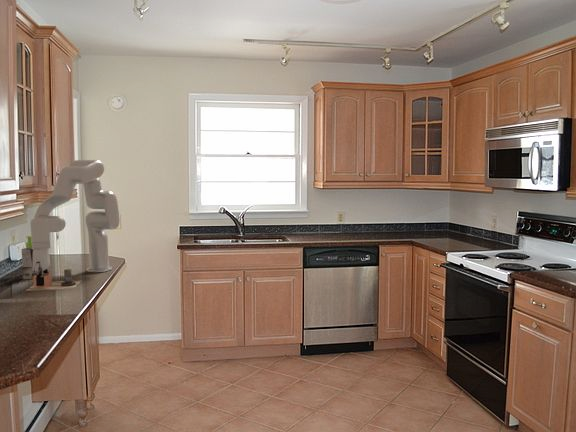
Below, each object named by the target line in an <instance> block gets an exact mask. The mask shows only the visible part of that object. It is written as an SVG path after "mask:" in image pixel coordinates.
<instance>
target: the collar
mask: <svg viewBox="0 0 576 432" xmlns="http://www.w3.org/2000/svg"><path fill="white" fill-rule="evenodd" d="M43 277H44V286H37V285H36V275H34V279H33V285H34V287H37V288H44V287H49V286H51V285H52V282H53V275H52V273H50V272H49V273H43Z"/></svg>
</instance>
